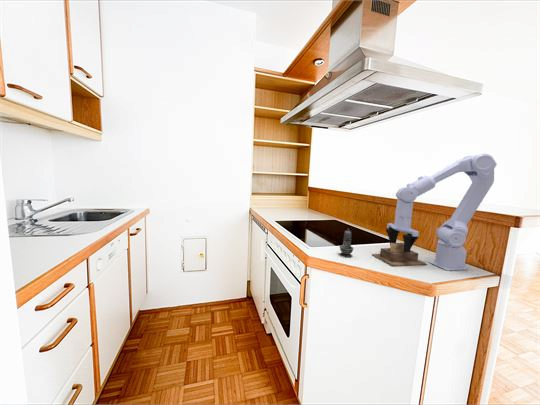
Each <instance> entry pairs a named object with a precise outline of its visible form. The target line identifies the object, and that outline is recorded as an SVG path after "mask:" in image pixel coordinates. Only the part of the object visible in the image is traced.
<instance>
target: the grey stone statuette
mask: <svg viewBox="0 0 540 405" xmlns="http://www.w3.org/2000/svg"><path fill="white" fill-rule="evenodd" d="M342 239H343V242H342V245H339V246H338V247H339V250H340V253H339V256H340V257H343V258H346V259H347V258H353V255H352V253H353V251H354V249H355V248H354V247H353V246H352V245H351V244H352V240H353V239H352V231H351V230H350V228H347V229H346V230H345V231H344V234H343V237H342Z"/></svg>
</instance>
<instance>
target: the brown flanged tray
mask: <svg viewBox="0 0 540 405" xmlns="http://www.w3.org/2000/svg"><path fill="white" fill-rule="evenodd" d="M371 256H372V257H373V258H374V257H375V258H376V259H378V260H379V261H381V262H383V263H385V264H387V266H390V267H393V268H395V267H410V266H411V267H412V266H427V263H426V262H424V261H422V260H420V259H418V258H419V253H418V252H416V251H414V250H411V249H410V252H407V253H394V252H392V251H390V247H384V248H383V247H381V248H380V252H379V253H371Z"/></svg>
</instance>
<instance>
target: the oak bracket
mask: <svg viewBox="0 0 540 405" xmlns="http://www.w3.org/2000/svg"><path fill="white" fill-rule="evenodd" d="M389 245H390V244H389ZM389 248H390V251H392V252H394V253H407V252H404V242H396V243H391V245H390V247H389Z"/></svg>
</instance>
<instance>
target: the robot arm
mask: <svg viewBox="0 0 540 405" xmlns="http://www.w3.org/2000/svg"><path fill="white" fill-rule="evenodd" d="M497 165H498V163H497V162H496V160H495V159H494V157H493V156H492V155H490V154H488V153H480V154H475V155H468V156H464V157H463V158H461V159H457V160H456V161H454V162H453V163H451V164H448V165H447V166H446V167H444V168H443V169H441V170H438V171H437V172H435V173H434V174H432V175H424V176H421V175H420V176H419V177H418V178H417V179H416V180H414V181H413V182H411V183H406V187H405V186H403V187H401V188H398V189H397V192H395V197H396V199H397V200H396V201H397V202H396V206H395V207H396V208H395V215H394V217H395V218H394V223H392V222H389V223H387V226H386V229H385V232H386V234H387V236H388V240H389V245H391V243H397V239H398V236H399V234H400V232H402V233H405V234H402V238H403V243H404V252H410V250H411V249H412V248H413V245H414V244H415V242H416V241H417V240H418V239H419V233H420V231H419V230H415V229H413V228H411V224H412V216H413V208H414V201H415V200H416V199H417V197H420V196H422V195H424V194H425V193H427V192H429V191H431V190H433V189H435V187H436V184H437V183H440V182H441V181H443V180H445V179H447V178H449V177H452V176H453V175H455V174H457V173H464V174H466V175H467V177H469V179H470V181H471V184H470V186H469V187H468V189H467V191H466V192H465V194H464V196H463V197H462V199H461V200H460V202H459V203H458V205H457V207H456V208H455V210H454V211H453V213H452V215H451V217H450V218H449V219H448V220H446V221H444V223H443V224H442V225H441V226H440V227H438V228H437V229H436V232H435V235H436V237H437V238H438V240H437V243H436V244H437V245H436V249H435V250H436V251H435V258H434V261H433V260H432V261H431V260H430V261H428V263H429V264H431V265H434V266H436V267H438V268H441V269H442V270H445V271H462V270H464V271H465V270H467V267H465V265H466V259H467V250H466V248H465V247H464V244H465V243H466V241H467V234H468V233H469V228H468V224H469V222H470V221H471V219H472V218H473V216H474V214H475V213H476V212H477V210H478V209H479V207H480V205H481V204H482V201H483V200H484V198H485V197H486V196H487V194H488V192H489V190H490V189H491V187H492V186H493V185H494V183H495V168H496V167H497Z"/></svg>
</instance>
